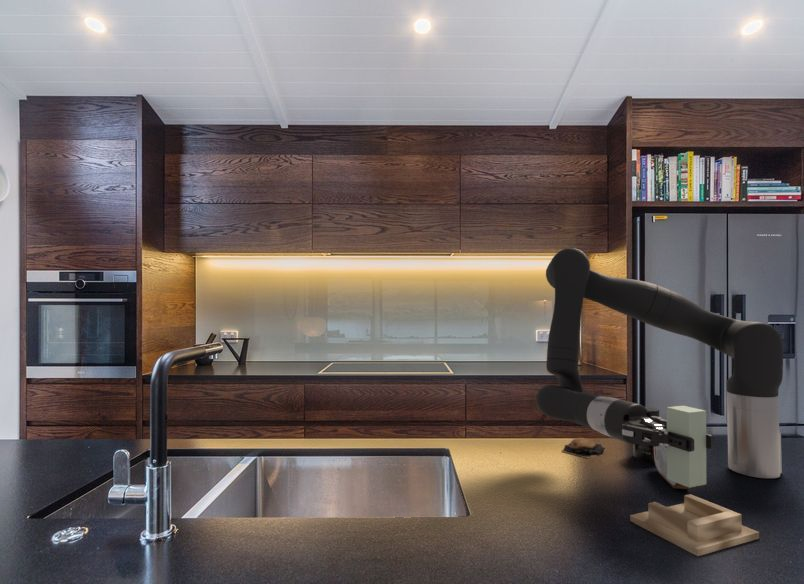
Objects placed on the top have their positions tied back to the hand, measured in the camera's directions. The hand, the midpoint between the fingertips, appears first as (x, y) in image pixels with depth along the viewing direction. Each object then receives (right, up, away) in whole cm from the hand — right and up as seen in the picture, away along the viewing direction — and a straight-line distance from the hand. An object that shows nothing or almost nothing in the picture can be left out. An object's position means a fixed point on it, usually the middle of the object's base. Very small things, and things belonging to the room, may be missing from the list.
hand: (702, 443), depth 75 cm
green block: (-1, -7, +2) cm, 8 cm away
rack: (-1, -15, +2) cm, 15 cm away
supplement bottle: (+11, -16, +37) cm, 42 cm away
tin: (+8, -16, +23) cm, 29 cm away
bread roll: (-2, -17, +43) cm, 46 cm away
